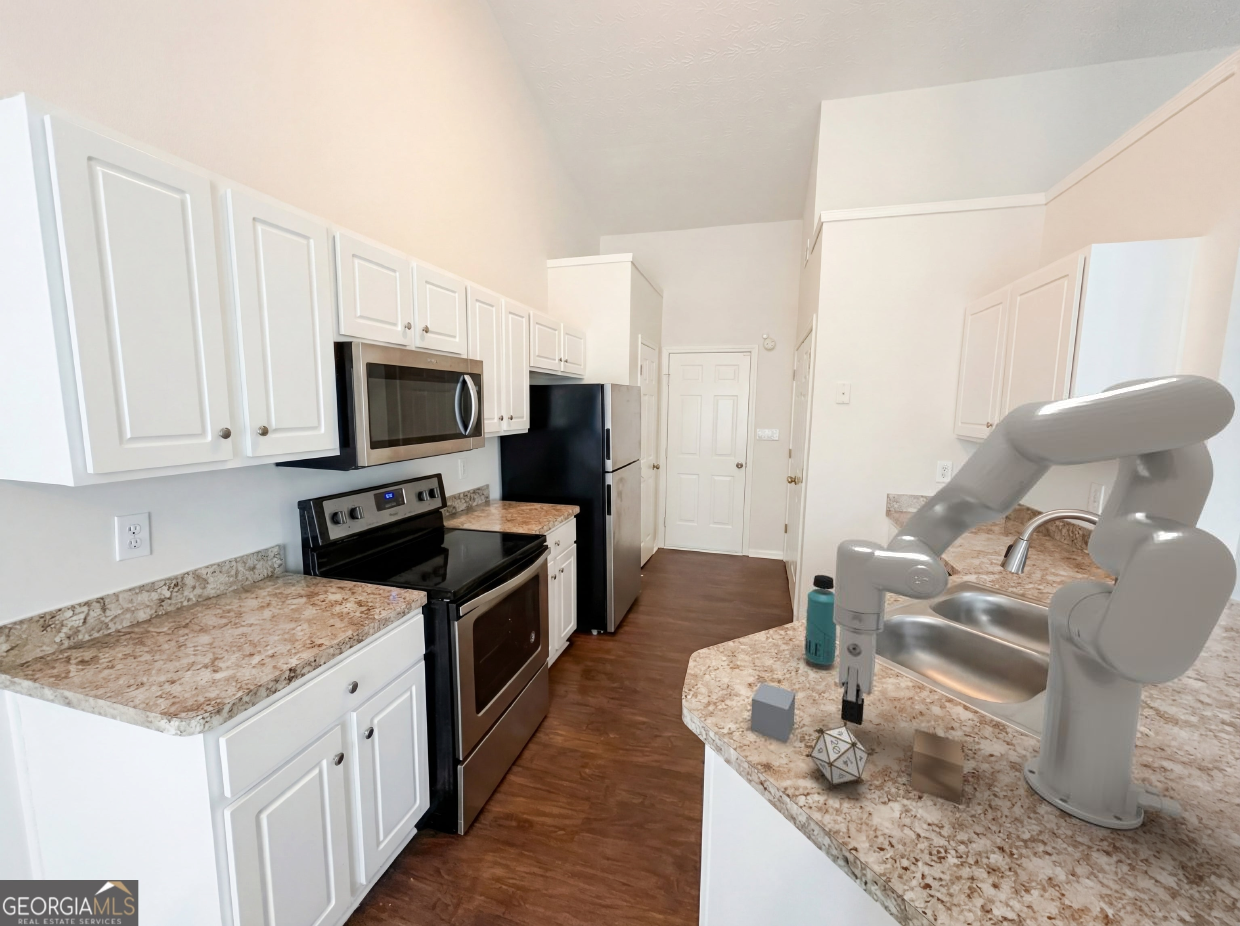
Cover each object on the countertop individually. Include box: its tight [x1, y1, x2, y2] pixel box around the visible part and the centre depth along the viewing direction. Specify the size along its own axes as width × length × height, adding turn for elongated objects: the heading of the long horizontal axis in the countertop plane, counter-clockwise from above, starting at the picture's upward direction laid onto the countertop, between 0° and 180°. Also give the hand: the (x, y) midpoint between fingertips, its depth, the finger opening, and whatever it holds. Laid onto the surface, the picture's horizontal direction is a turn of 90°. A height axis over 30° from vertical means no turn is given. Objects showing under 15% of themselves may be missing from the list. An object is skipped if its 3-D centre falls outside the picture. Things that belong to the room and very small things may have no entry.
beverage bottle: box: [803, 574, 838, 665], centre depth 106 cm, size 6×7×20 cm
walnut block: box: [910, 728, 965, 806], centre depth 72 cm, size 6×6×6 cm
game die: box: [804, 720, 875, 791], centre depth 73 cm, size 9×8×10 cm
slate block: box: [750, 682, 796, 744], centre depth 85 cm, size 6×6×6 cm
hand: (851, 719), depth 82 cm, fingers closed
